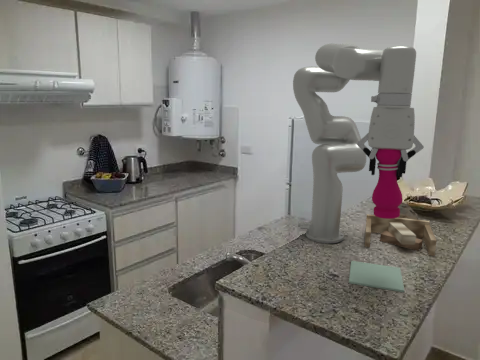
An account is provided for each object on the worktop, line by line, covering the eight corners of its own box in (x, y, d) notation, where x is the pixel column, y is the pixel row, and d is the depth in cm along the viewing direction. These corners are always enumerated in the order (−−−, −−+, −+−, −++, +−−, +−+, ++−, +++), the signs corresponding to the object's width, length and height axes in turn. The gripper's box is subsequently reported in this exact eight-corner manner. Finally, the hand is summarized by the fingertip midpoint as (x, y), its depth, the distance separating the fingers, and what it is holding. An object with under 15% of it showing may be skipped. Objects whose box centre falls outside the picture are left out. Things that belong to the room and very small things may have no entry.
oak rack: (364, 246, 117) (366, 228, 116) (365, 230, 132) (366, 214, 131) (434, 256, 111) (437, 237, 110) (426, 237, 126) (429, 220, 124)
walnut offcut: (379, 242, 122) (380, 233, 122) (384, 239, 125) (385, 230, 125) (418, 252, 115) (419, 243, 114) (421, 248, 118) (423, 239, 117)
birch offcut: (388, 230, 125) (389, 222, 124) (400, 230, 125) (401, 222, 124) (401, 244, 113) (402, 235, 112) (415, 244, 113) (416, 235, 112)
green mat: (348, 283, 94) (348, 281, 94) (351, 262, 106) (351, 260, 106) (404, 292, 90) (404, 290, 90) (400, 269, 102) (400, 267, 102)
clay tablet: (382, 208, 160) (377, 221, 142) (384, 197, 159) (379, 208, 141) (418, 214, 154) (417, 228, 136) (420, 203, 153) (419, 215, 135)
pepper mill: (366, 216, 95) (367, 138, 90) (379, 209, 100) (380, 135, 95) (394, 221, 90) (397, 139, 85) (406, 213, 94) (409, 135, 90)
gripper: (355, 100, 87) (349, 175, 91) (436, 102, 82) (426, 181, 86) (356, 100, 94) (351, 170, 98) (431, 101, 89) (421, 175, 93)
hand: (386, 174), depth 92 cm, fingers closed on pepper mill, 5 cm apart
